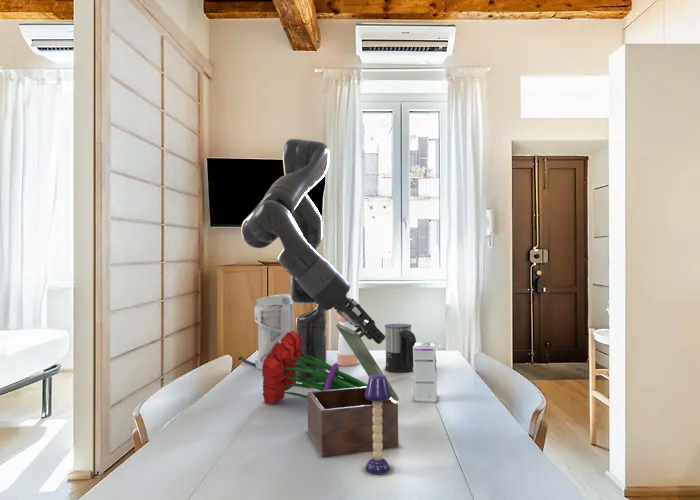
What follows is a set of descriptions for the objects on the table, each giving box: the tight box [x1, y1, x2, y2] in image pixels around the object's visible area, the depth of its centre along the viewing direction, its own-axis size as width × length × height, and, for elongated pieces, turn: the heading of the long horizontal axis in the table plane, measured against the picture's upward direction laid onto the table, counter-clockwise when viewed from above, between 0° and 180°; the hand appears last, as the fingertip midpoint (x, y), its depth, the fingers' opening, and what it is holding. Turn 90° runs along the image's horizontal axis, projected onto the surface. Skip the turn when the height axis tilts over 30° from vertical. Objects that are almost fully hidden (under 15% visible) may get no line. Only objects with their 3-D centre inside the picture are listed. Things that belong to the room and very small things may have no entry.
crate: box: [306, 386, 399, 458], centre depth 101 cm, size 16×14×9 cm
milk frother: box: [383, 323, 437, 373], centre depth 163 cm, size 14×16×15 cm
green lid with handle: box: [335, 320, 400, 403], centre depth 103 cm, size 16×14×6 cm
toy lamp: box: [365, 373, 391, 475], centre depth 87 cm, size 5×5×17 cm
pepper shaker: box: [336, 313, 359, 367], centre depth 173 cm, size 7×7×19 cm
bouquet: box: [261, 330, 368, 404], centre depth 125 cm, size 20×16×30 cm
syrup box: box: [412, 341, 438, 403], centre depth 129 cm, size 6×6×14 cm
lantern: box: [254, 293, 294, 370], centre depth 169 cm, size 13×10×25 cm
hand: (377, 338), depth 103 cm, fingers closed on green lid with handle, 5 cm apart
